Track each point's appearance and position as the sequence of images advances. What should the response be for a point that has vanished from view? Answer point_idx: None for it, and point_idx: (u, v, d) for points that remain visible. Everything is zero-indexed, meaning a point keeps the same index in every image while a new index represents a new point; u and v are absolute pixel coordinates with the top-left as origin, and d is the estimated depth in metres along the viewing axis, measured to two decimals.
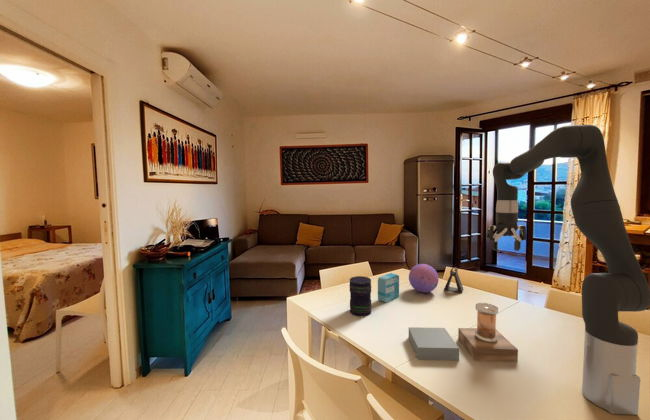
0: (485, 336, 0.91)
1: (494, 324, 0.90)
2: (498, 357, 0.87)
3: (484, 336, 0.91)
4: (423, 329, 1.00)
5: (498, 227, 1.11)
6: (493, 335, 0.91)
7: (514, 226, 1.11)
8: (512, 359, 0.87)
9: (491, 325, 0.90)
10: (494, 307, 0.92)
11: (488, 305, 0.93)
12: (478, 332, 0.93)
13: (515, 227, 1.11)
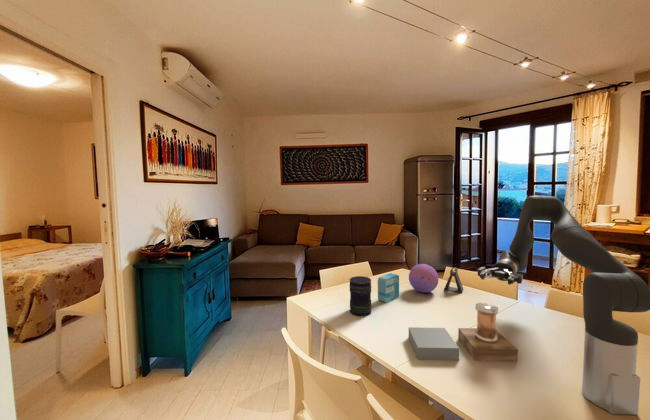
0: (485, 336, 0.91)
1: (494, 324, 0.90)
2: (498, 357, 0.87)
3: (484, 336, 0.91)
4: (423, 329, 1.00)
5: None
6: (493, 335, 0.91)
7: (509, 271, 1.05)
8: (512, 359, 0.87)
9: (491, 325, 0.90)
10: (494, 307, 0.92)
11: (488, 305, 0.93)
12: (478, 332, 0.93)
13: (510, 271, 1.05)
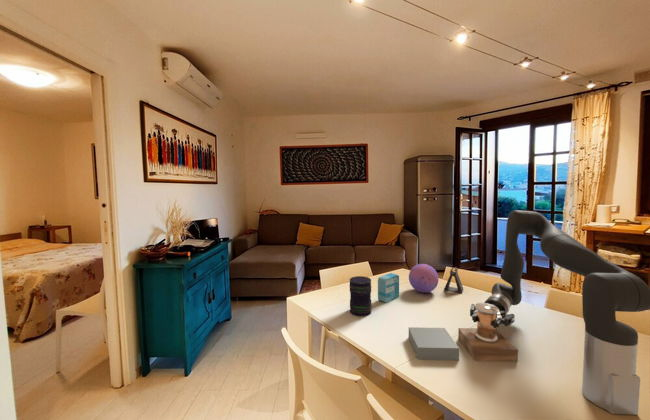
0: (485, 336, 0.91)
1: None
2: (498, 357, 0.87)
3: (484, 336, 0.91)
4: (423, 329, 1.00)
5: None
6: (493, 335, 0.91)
7: (500, 310, 0.97)
8: (512, 359, 0.87)
9: (491, 325, 0.90)
10: (494, 307, 0.92)
11: (488, 305, 0.93)
12: (478, 332, 0.93)
13: (501, 311, 0.96)
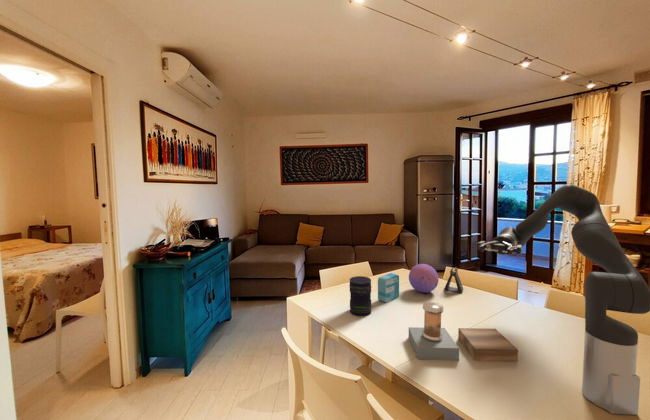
0: (430, 335, 0.92)
1: (439, 323, 0.92)
2: (498, 357, 0.87)
3: (429, 335, 0.92)
4: (423, 329, 1.00)
5: None
6: (438, 334, 0.92)
7: (508, 244, 1.06)
8: (512, 359, 0.87)
9: (436, 324, 0.91)
10: (440, 306, 0.93)
11: (435, 304, 0.95)
12: (424, 331, 0.94)
13: None
